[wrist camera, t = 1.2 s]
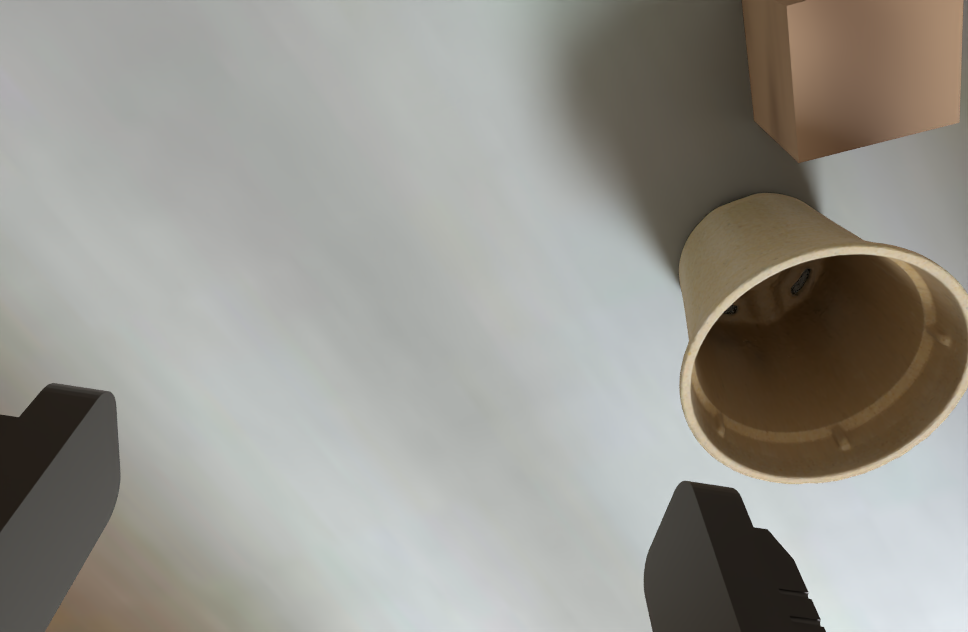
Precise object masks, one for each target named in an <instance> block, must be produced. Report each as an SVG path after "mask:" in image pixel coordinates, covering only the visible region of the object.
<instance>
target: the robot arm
mask: <svg viewBox="0 0 968 632" xmlns="http://www.w3.org/2000/svg"><path fill="white" fill-rule="evenodd" d="M119 486H120V459H119V443H118V427H117V411H116V401H115V397H114V395H113V394H112V393H111V392H109V391H103V390H96V389H90V388H83V387H76V386H70V385H63V384H57V383H51V384H49V385H47V386H46V387H45V388H44V389H43V390H42V391H41V392H40V393H39V394H38V395H37V397H36V398H35V399H34V400H33V401H32V402H31V404H30V405H29V406H28V407H27V408H26V410H25V411H24V412H23V413H22V414H21V415H20V417H13V416H6V415H0V632H45V630H46V628H47V627H48V625H49V623H50V621H51V620H52V618H53V616H54V615H55V613H56V611H57V609H58V608H59V606H60V604H61V602H62V601H63V599H64V597H65V596H66V594H67V592H68V590H69V589H70V587H71V585H72V583H73V582H74V580H75V578H76V576H77V575H78V573H79V571H80V570H81V568H82V566H83V564H84V563H85V561H86V559H87V557H88V556H89V554H90V552H91V551H92V549H93V547H94V545H95V544H96V542H97V540H98V538H99V537H100V535H101V533H102V531H103V530H104V528H105V526H106V525H107V523H108V521H109V519H110V517H111V515H112V512H113V510H114V507H115V504H116V500H117V497H118V492H119ZM644 592H645V598H646V603H647V607H648V612H649V617H650V621H651V626H652V630H653V632H826V631H825V629H824V627H821V626H820V617H819V615H818V613H817V611H816V608H815V606H814V604H813V602H812V599H808V590H807V588H806V586H805V584H804V581H803V579H802V577H801V575H800V572H799V570H798V568H797V566H796V564H795V561H794V559H793V558H792V557H791V556H790V555H789V554H788V552H787V551H786V550H785V549H784V548H783V547H782V546H781V544H780V543H779V542H778V541H777V540H776V539H775V538H774V536H773V535H772V534H771V533H770V532H769V531H768V529H761V528H754V527H753V525H752V523H751V520H750V518H749V515H748V513H747V510H746V508H745V505H744V503H743V500H742V498H741V496H740V494H739V493H738V491H737V490H735V489H734V488H729V487H723V486H716V485H710V484H703V483H697V482H690V481H682V482H681V483H680V484H679V485H678V486H677V488H676V489H675V491H674V494H673V496H672V498H671V501H670V503H669V505H668V507H667V510H666V512H665V514H664V517H663V519H662V521H661V524H660V526H659V528H658V531H657V533H656V535H655V537H654V540H653V542H652V544H651V547H650V549H649V552H648V554H647V558H646V563H645V569H644Z"/></svg>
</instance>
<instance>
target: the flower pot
mask: <svg viewBox="0 0 968 632" xmlns="http://www.w3.org/2000/svg"><path fill="white" fill-rule="evenodd" d="M805 269H811V270H810V272H809V276H808V278H807V280H806V281H805V283H804V285H803V287H802V288H801V289H800V290H799V291H798V292H797V293H796V294H792V291H791V288H792V286H793V285H794V284H795V283H796V282H797V281H798V280H799V278H800V276H801V275H802V273H803V272H804V271H805ZM679 280H680V286H681V291H682V296H683V302H684V308H685V314H686V322H687V329H688V336H689V343H688V346H687V349H686V351H685V354H684V357H683V362H682V366H681V372H680V398H681V404H682V409H683V412H684V415H685V418H686V421H687V423H688V426H689V428H690V429H691V431H692V433H693V434H694V436H695V438H696V439H697V441H698V442H699V443H700V444H701V445H702V447H703V448H704V449H705V450H706V451H707V452H708V453H709V454H710V455H711V456H713V457H714V458H715V459H717V460H718V461H719V462H721V463H723V464H724V465H725V466H727V467H729V468H731V469H732V470H734V471H737V472H739V473H741V474H744V475H746V476H749V477H752V478H756V479H762V480H765V481H770V482H777V483H784V484H803V483H824V482H831V481H838V480H843V479H846V478H849V477H853V476H856V475H860V474H864V473H866V472H868V471H871V470H873V469H876V468H878V467H880V466H882V465H885V464H887V463H888V462H890V461H892V460H894V459H896V458H899V457H900V456H902V455H904V454H905V453H907V452H908V451H910V450H911V449H912V448H913V447H914V446H915V445H918V444H919V443H920V442H921V441H923V440H924V439H926V438H927V437H928V436H930V434H931V433H932V432H933V431H934V430H935V429H937V428H938V426H939V425H940V424H941V423H942V422H943V421H944V420H945V419H946V418H947V417H948V416H949V414H950V413H951V411H952V410H953V409H954V408H955V407H956V405H957V403H958V402H959V400H960V399H961V397H962V396H963V394H964V393H965V391H966V389H967V387H968V294H967V293H966V291H965V289H963V287H962V286H961V285H960V283H959V282H958V281H957V280H956V279H955V278H954V277H953V276H952V275H951V274H950V273H948V272H947V271H946V270H945V269H943V268H942V267H941V266H939V265H938V264H936V263H935V262H933V261H932V260H930V259H928V258H926V257H924V256H923V255H920V254H918V253H916V252H913V251H910V250H907V249H904V248H901V247H897V246H893V245H888V244H882V243H873V242H869V241H864V240H862V239H861V238H859V237H858V236H856V235H854V234H853V233H851V232H849V231H848V230H846V229H844V228H843V227H841V226H839V225H838V224H836V223H834V222H833V221H831V220H830V219H828V218H827V217H825V216H824V215H822V214H821V213H819V212H817V211H816V210H814V209H813V208H811V207H810V206H809V205H807V204H806V203H804V202H802V201H801V200H799V199H796V198H793V197H790V196H787V195H783V194H776V193H757V194H753V195H750V196H748V197H745V198H742V199H739V200H736V201H733V202H731V203H728V204H726V205H723V206H721V207H718V208H716V209H715V210H713V211H712V212H710V213H709V214H708V215H707V216H706V217H705V218H704V219H703V220H702V221H701V222H700V223H699V224H698V225H697V226H696V227H695V229H694V230H693V231H692V233H691V234H690V236H689V237H688V239H687V241H686V243H685V246H684V248H683V250H682V254H681V258H680V262H679ZM730 305H734V306H737V310H736V312H735V313H733V314H726V313H724V311H725V310H726V309H727V308H728V307H729V306H730Z"/></svg>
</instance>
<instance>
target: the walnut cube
mask: <svg viewBox="0 0 968 632" xmlns="http://www.w3.org/2000/svg"><path fill="white" fill-rule="evenodd" d="M742 8H743V18H744V28H745V37H746V47H747V56H748V66H749V76H750V85H751V95H752V104H753V114H754V121H755V122H756V123H757V124H758V125H759V126H760V127H761V128H762V129H763V130H764V131H765V132H766V133H768V134H769V135H770V136H771V137H772V138H773V139H774V140H775V141H776V142H777V143H778V144H779V145H780V146H781V147H782V148H783V149H784V150H785V151H787V152H788V153H789V154H790V155H791V156H792V157H793V158H794V159H795V160H796V161H797V162H798V163H801V162H805V161H809V160H813V159H817V158H821V157H825V156H829V155H833V154H837V153H840V152H844V151H848V150H852V149H856V148H860V147H864V146H868V145H872V144H876V143H880V142H884V141H888V140H892V139H896V138H900V137H904V136H908V135H912V134H916V133H920V132H924V131H927V130H931V129H935V128H939V127H943V126H947V125H951V124H955V123H959V119H960V87H961V55H962V24H963V0H742Z"/></svg>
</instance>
